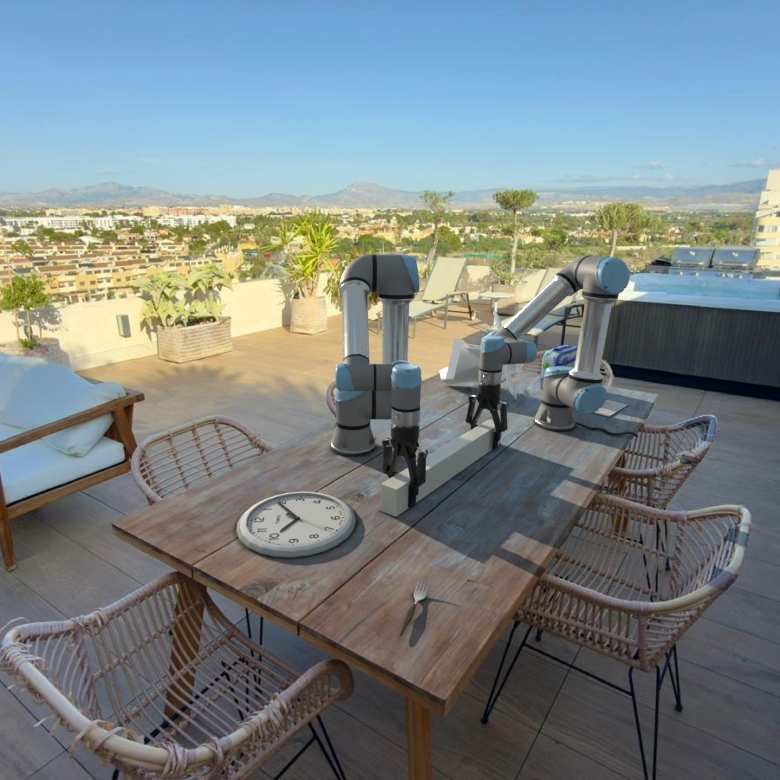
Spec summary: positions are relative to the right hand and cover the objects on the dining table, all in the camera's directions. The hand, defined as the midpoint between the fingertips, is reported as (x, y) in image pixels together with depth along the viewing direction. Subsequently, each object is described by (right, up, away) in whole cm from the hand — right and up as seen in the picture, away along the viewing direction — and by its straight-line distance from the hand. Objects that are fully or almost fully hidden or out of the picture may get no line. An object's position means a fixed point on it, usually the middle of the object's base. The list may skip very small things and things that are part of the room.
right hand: (484, 445), depth 182 cm
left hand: (-29, -12, -37) cm, 49 cm away
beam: (-15, -7, -18) cm, 25 cm away
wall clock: (-57, -15, -47) cm, 75 cm away
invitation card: (+59, +12, +45) cm, 75 cm away
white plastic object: (+9, +18, +62) cm, 65 cm away
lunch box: (+48, +19, +68) cm, 86 cm away
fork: (-28, -25, -77) cm, 86 cm away
